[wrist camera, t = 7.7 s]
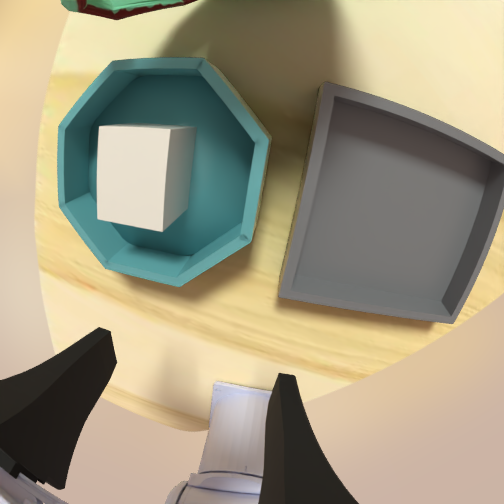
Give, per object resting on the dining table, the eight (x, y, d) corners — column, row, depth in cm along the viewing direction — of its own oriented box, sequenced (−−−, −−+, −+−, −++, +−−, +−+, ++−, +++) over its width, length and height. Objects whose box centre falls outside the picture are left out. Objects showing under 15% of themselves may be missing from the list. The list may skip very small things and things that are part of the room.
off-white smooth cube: (187, 208, 17) (162, 231, 14) (131, 199, 18) (97, 219, 14) (196, 127, 15) (170, 129, 12) (136, 122, 15) (99, 126, 12)
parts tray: (440, 304, 19) (453, 324, 17) (279, 276, 19) (278, 296, 17) (494, 155, 14) (515, 161, 11) (319, 87, 14) (324, 81, 12)
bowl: (248, 272, 20) (240, 300, 17) (89, 238, 20) (64, 257, 17) (283, 77, 14) (282, 65, 11) (95, 71, 15) (65, 68, 12)
